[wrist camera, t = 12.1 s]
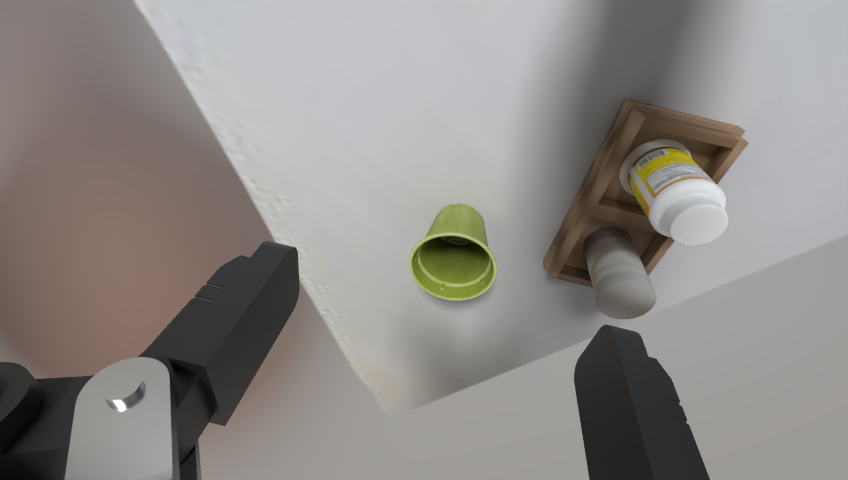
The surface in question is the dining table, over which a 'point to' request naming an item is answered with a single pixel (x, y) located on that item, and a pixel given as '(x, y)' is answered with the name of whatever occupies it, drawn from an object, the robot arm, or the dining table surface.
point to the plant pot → (454, 256)
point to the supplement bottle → (678, 196)
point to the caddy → (631, 206)
